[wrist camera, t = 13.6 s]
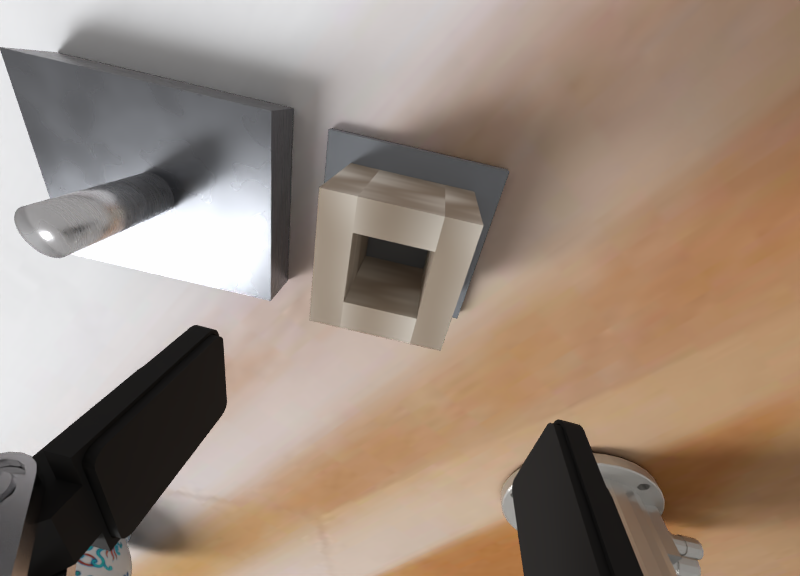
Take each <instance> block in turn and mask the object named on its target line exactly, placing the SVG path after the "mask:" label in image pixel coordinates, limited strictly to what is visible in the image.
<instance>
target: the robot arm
mask: <svg viewBox="0 0 800 576" xmlns="http://www.w3.org/2000/svg"><path fill="white" fill-rule="evenodd" d="M226 405H227V396H226V380H225V363H224V347H223V338H222V337H220V336H219V334H218V332H217V330H214V329H210V328H206V327H202V326H198V325H194V326H192V327H190V328H189V329H188V330H187V331H186V332H184V333H183V334H182V335H181V336H179V337H178V338H177V339H176V340H175V341H173V342H172V343H171V344H170V345H169V346H167V347H166V348H165V349H164V350H163V351H161V352H160V353H159V354H158V355H157V356H155V357H154V358H153V359H152V360H150V361H149V362H148V363H147V364H146V365H144V366H143V367H142V368H140V369H138V370H137V371H136V372H135V373H134V374H132V375H131V376H130V377H129V378H127V379H126V380H125V381H124V382H123V383H121V384H120V385H119V386H118V387H117V388H115V389H114V390H113V391H112V392H110V393H109V394H108V395H107V396H106V397H104V398H103V399H102V400H101V401H100V402H98V403H97V404H96V405H95V406H94V407H92V408H91V409H90V410H89V411H87V412H86V413H85V414H84V415H83V416H81V417H80V418H79V419H78V420H77V421H75V422H74V423H73V424H72V425H70V426H69V427H68V428H67V429H66V430H64V431H63V432H62V433H61V434H60V435H58V436H57V437H56V438H55V439H53V440H52V441H51V442H50V443H49V444H47V445H46V446H45V447H44V448H43V449H41V450H40V451H39V452H38V453H37V454H35V455H34V456H33V457H32V456H30V455H27V454H25V453H21V452H6V453H0V576H75V571H76V563H77V562H78V561H79V559H80V558H81V557H82V556H83V555H84V553H85V552H86V551H87V550H88V549H89V547H90V546H93V547H96V548H100V549H103V550H107V551H110V552H111V550H112V549H113V548H114V547H115V545H116V544H117V543H118V541H119V540H120V539H125V538H127V537H128V536H129V535H130V534H132V532H133V531H134V530H135V529H136V527H137V526H138V525H139V524H140V522H141V521H142V520H143V518H144V517H145V516H146V514H147V513H148V512H149V510H150V509H151V508H152V506H153V505H154V504H155V503H156V501H157V500H158V499H159V497H160V496H161V495H162V493H163V492H164V491H165V489H166V488H167V487H168V485H169V484H170V483H171V481H172V480H173V479H174V478H175V476H176V475H177V474H178V472H179V471H180V470H181V468H182V467H183V466H184V464H185V463H186V462H187V460H188V459H189V458H190V457H191V455H192V454H193V453H194V451H195V450H196V449H197V447H198V446H199V445H200V443H201V442H202V441H203V439H204V438H205V437H206V435H207V434H208V433H209V432H210V430H211V429H212V428H213V426H214V425H215V424H216V422H217V421H218V420H219V418H220V417H221V416H222V414H223V413H224V411H225V408H226ZM501 504H502V511H503V514H504V516H505V518H506V520H507V521H508V522H509V523H510V524H511V525H512V527H514V528H515V529H516V530H518V537H519V544H520V551H521V558H522V565H523V571H524V576H701V569H700V566H699V563H698V561H697V560H699V559H702V557H703V548H702V545H701V544H700V543H699V541H698V540H696V539H694V538H691V537H687V536H682V535H674V534H671V533H670V532H669V531H668V529H667V527H666V525H665V523H664V521H663V519H662V517H661V515H662V513H663V510H664V504H665V500H664V497H663V494H662V491H661V490H660V488H659V486H658V484H657V483H656V481H655V479H654V477H652V476H651V475H650V474H649V473H648V472H647V471H646V470H645V469H643V468H642V467H640V466H638V465H637V464H635V463H633V462H630V461H628V460H625V459H622V458H619V457H615V456H611V455H607V454H599V453H593V452H592V449H591V447H590V444H589V442H588V439H587V437H586V434H585V432H584V430H583V428H582V427H581V426H580V425H578V424H574V423H570V422H566V421H563V420H556V421H555V422H554V423H549V424H548V425H547V426H546V428H545V429H544V431H543V433H542V434H541V436H540V438H539V439H538V441H537V442H536V444H535V446H534V447H533V449H532V451H531V452H530V454H529V455H528V457H527V459H526V460H525V462H524V464H523V465H522V467H521V468H519V469H518V470H517V471H516V472H514V473H513V474H512V475H511V476H510V477H509V478H508V479H507V481H506V482H505V483H504V485H503V488H502V490H501Z"/></svg>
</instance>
